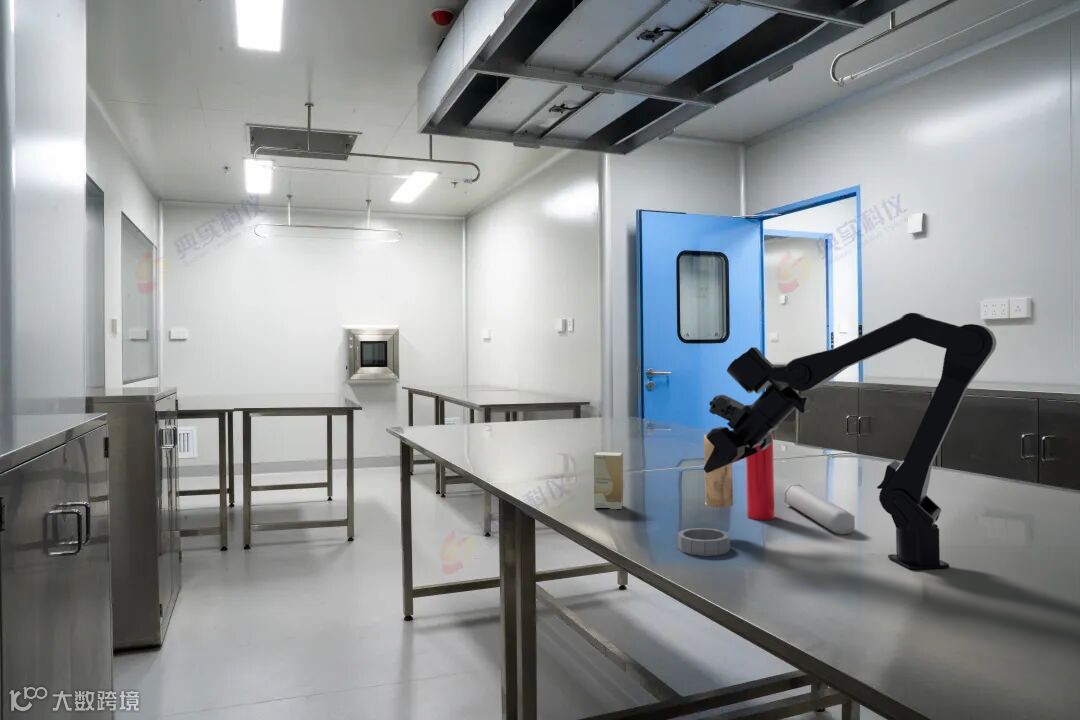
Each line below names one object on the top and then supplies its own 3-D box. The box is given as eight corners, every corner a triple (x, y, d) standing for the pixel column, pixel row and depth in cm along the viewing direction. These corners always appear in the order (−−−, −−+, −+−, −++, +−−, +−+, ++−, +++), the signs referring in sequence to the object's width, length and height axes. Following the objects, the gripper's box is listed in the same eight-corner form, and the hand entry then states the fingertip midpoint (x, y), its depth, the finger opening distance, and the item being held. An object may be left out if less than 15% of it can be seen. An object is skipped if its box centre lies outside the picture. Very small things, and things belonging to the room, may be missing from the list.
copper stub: (736, 506, 129) (735, 436, 129) (710, 507, 129) (708, 437, 129) (727, 500, 134) (725, 433, 134) (702, 502, 134) (700, 434, 134)
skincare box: (593, 509, 156) (592, 454, 156) (596, 505, 160) (595, 451, 160) (622, 510, 154) (620, 454, 154) (624, 505, 159) (623, 451, 158)
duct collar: (736, 554, 119) (736, 539, 119) (687, 556, 119) (686, 542, 119) (719, 540, 128) (719, 527, 128) (673, 543, 127) (672, 529, 127)
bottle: (777, 515, 146) (775, 419, 145) (771, 521, 141) (769, 422, 141) (750, 512, 148) (748, 418, 148) (744, 518, 144) (741, 421, 143)
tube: (864, 515, 129) (810, 487, 154) (837, 507, 128) (787, 480, 153) (856, 543, 129) (803, 510, 154) (828, 534, 129) (780, 503, 154)
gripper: (754, 377, 136) (702, 431, 143) (715, 383, 121) (660, 443, 128) (796, 419, 132) (741, 473, 139) (761, 430, 117) (701, 489, 124)
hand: (711, 468), depth 132 cm, fingers closed on copper stub, 5 cm apart
